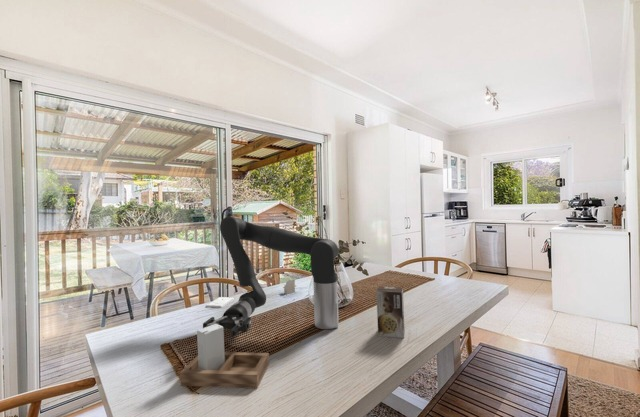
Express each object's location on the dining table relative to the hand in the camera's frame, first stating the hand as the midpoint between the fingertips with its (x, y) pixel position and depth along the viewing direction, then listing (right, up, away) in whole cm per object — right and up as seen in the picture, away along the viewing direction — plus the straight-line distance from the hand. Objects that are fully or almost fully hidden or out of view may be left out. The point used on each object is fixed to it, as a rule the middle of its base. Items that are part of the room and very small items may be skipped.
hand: (217, 334), depth 90 cm
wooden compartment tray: (+4, -9, -5) cm, 11 cm away
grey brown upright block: (+56, -8, +19) cm, 60 cm away
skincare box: (0, -9, -4) cm, 10 cm away
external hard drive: (-19, -10, +59) cm, 63 cm away
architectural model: (+14, -9, +73) cm, 75 cm away
